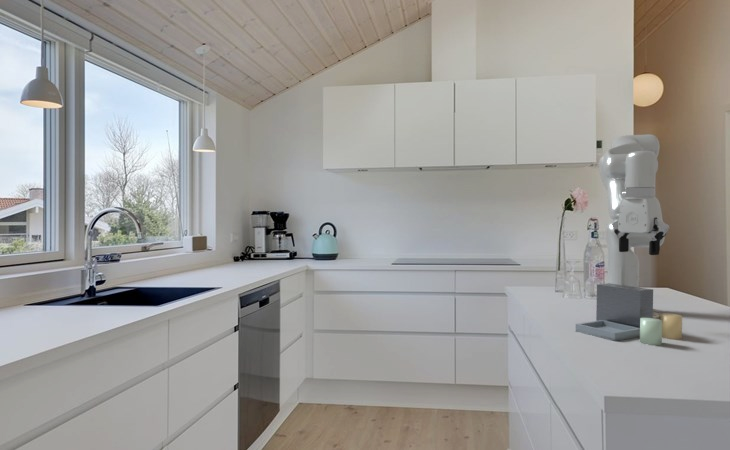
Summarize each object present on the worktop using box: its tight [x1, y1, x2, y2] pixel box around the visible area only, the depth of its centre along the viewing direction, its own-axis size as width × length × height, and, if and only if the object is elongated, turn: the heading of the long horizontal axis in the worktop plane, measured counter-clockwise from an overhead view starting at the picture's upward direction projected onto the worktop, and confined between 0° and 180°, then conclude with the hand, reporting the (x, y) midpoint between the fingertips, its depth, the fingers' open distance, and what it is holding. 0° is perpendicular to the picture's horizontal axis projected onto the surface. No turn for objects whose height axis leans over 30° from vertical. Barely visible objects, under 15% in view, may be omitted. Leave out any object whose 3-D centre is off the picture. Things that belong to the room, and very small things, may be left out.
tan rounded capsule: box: [660, 312, 683, 341], centre depth 123 cm, size 5×5×6 cm
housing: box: [595, 282, 654, 328], centre depth 133 cm, size 8×14×12 cm, turn 28°
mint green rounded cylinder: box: [639, 318, 663, 346], centre depth 117 cm, size 5×5×6 cm
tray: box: [575, 320, 640, 342], centre depth 126 cm, size 12×12×2 cm
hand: (638, 253), depth 133 cm, fingers open, 9 cm apart
